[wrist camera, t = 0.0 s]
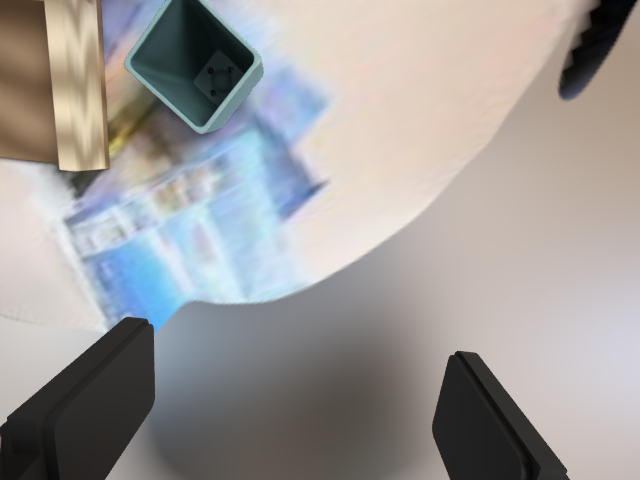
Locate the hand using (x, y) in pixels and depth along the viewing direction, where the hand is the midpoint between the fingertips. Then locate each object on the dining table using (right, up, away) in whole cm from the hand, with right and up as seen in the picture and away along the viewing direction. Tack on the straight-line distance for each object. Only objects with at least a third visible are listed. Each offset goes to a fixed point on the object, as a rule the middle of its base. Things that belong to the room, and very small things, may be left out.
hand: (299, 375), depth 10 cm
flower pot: (-10, +22, +27) cm, 36 cm away
